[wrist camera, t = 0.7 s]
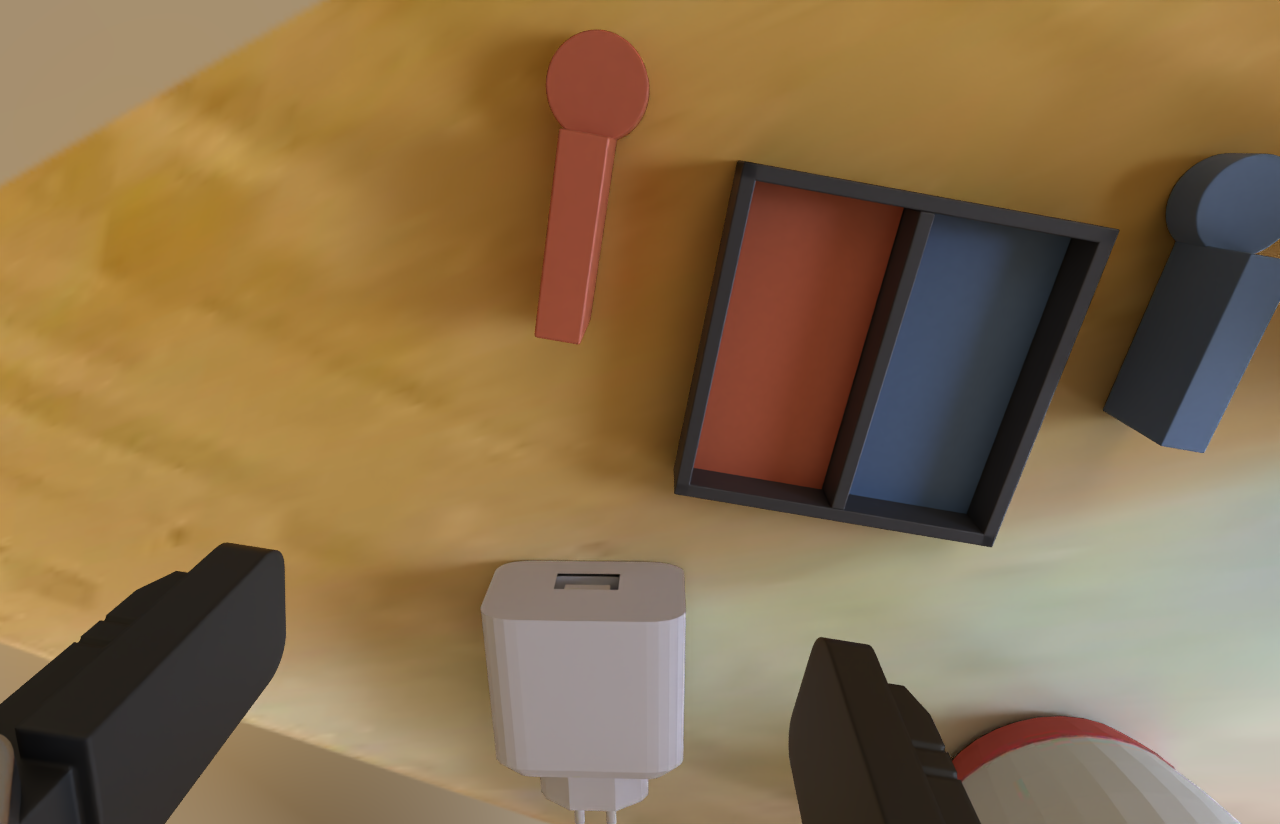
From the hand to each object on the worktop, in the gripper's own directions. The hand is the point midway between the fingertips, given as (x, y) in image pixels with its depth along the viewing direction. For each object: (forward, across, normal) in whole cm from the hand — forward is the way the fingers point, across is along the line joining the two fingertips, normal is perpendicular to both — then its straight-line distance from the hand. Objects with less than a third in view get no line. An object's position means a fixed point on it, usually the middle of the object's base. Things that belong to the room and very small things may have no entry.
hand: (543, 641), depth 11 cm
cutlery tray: (+22, -11, 0) cm, 24 cm away
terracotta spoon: (+22, +2, -5) cm, 22 cm away
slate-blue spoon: (+22, -23, -5) cm, 32 cm away
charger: (+22, -2, +20) cm, 30 cm away
